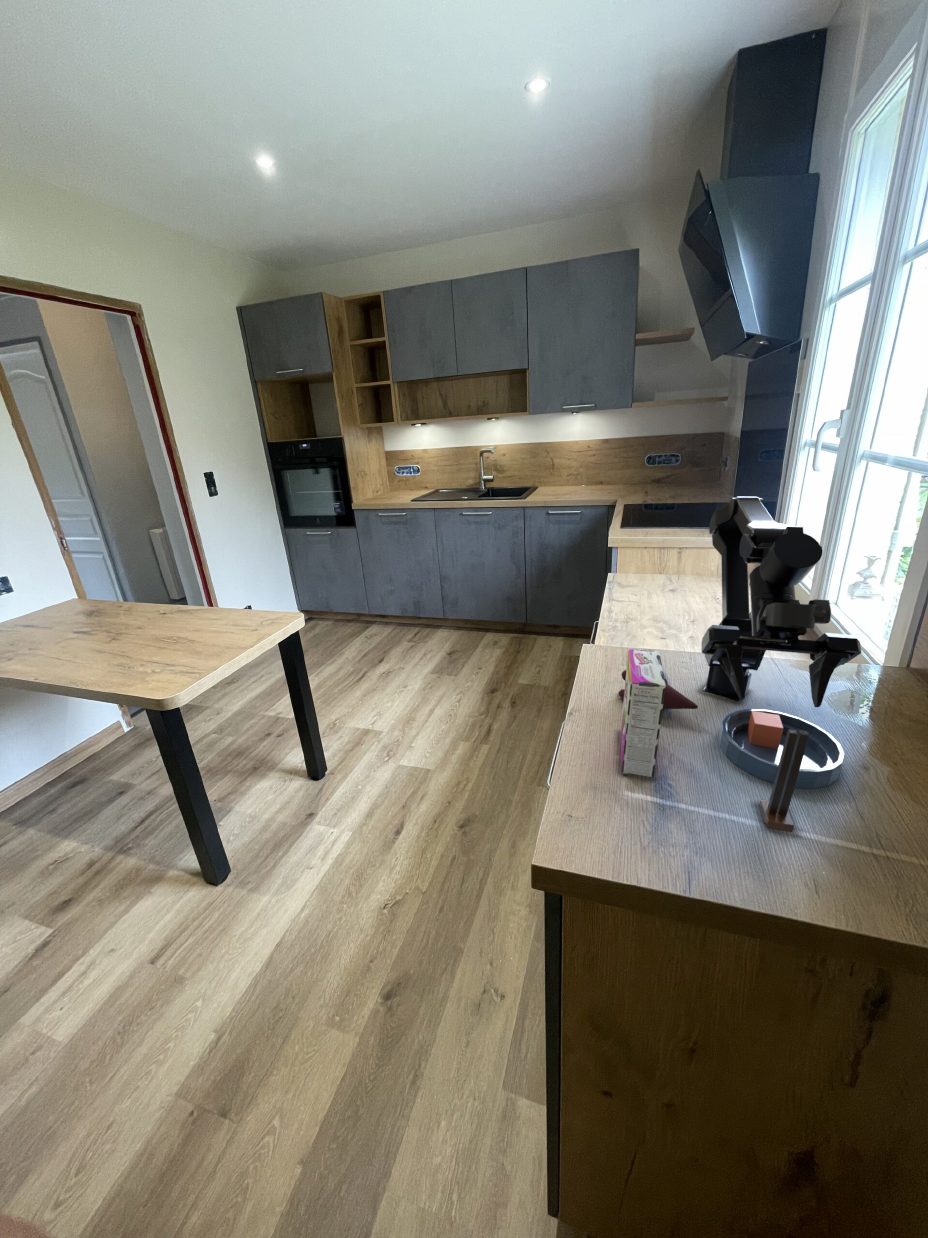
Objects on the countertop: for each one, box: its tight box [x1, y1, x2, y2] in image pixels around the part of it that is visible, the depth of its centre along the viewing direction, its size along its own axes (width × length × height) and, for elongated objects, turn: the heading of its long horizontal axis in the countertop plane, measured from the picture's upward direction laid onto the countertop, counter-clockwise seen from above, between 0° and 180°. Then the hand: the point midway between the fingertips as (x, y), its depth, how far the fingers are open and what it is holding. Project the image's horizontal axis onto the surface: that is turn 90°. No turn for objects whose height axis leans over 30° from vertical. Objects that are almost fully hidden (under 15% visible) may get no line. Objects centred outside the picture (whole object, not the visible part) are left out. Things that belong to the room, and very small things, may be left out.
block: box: [747, 711, 784, 749], centre depth 80 cm, size 4×4×4 cm
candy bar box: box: [620, 648, 666, 778], centre depth 75 cm, size 11×5×16 cm, turn 164°
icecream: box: [617, 669, 699, 710], centre depth 89 cm, size 7×7×15 cm
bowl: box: [718, 708, 846, 790], centre depth 77 cm, size 16×16×4 cm
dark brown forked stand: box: [759, 729, 809, 833], centre depth 63 cm, size 4×3×14 cm
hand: (779, 702), depth 67 cm, fingers open, 9 cm apart
